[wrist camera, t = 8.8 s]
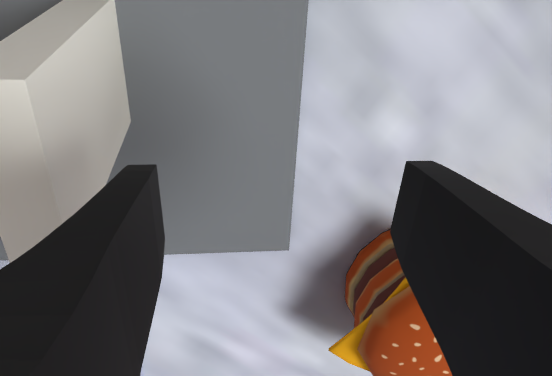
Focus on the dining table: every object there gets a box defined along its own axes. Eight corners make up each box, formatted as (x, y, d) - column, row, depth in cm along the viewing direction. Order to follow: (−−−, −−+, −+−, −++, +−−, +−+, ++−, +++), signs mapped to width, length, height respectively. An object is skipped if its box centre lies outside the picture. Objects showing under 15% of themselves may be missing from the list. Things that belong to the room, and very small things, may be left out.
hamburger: (427, 341, 31) (471, 438, 25) (310, 300, 27) (332, 402, 22) (529, 246, 27) (608, 337, 21) (407, 184, 23) (463, 274, 18)
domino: (113, -5, 16) (24, 79, 9) (130, 121, 19) (73, 266, 12) (71, -6, 16) (-57, 78, 9) (94, 121, 19) (11, 268, 11)
